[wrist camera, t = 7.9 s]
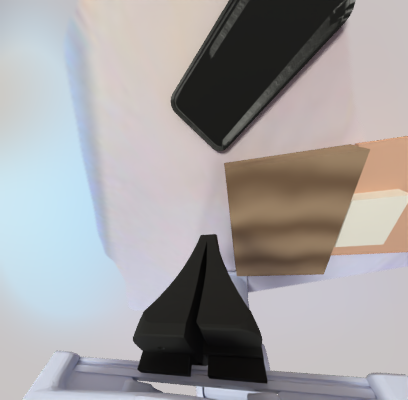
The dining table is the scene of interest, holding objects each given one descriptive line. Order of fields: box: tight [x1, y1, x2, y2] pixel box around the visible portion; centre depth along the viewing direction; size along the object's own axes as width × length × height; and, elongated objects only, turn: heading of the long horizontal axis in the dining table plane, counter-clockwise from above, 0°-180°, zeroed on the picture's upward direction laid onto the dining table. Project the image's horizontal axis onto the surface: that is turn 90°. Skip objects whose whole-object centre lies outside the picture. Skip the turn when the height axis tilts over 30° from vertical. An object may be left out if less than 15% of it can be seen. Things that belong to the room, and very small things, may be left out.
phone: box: [171, 0, 355, 151], centre depth 14 cm, size 8×1×15 cm
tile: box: [334, 189, 408, 247], centre depth 20 cm, size 8×6×2 cm
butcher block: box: [224, 144, 370, 276], centre depth 21 cm, size 20×14×2 cm
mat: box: [331, 136, 408, 255], centre depth 19 cm, size 18×16×1 cm
